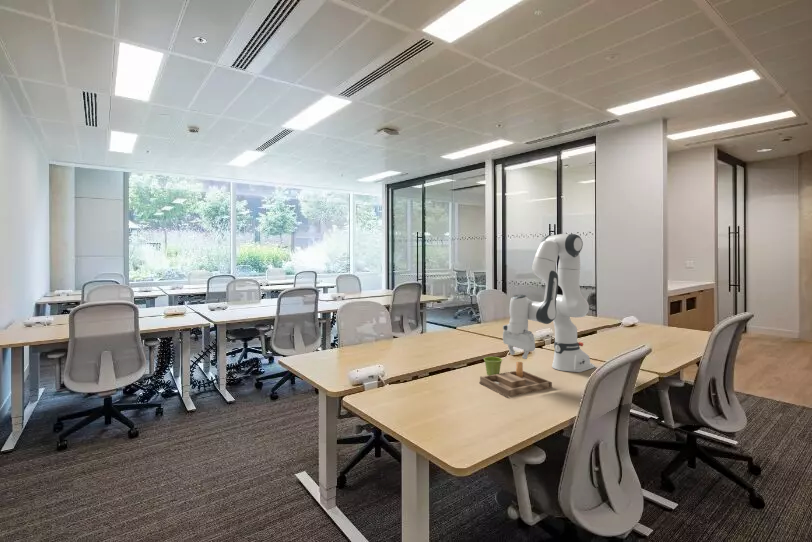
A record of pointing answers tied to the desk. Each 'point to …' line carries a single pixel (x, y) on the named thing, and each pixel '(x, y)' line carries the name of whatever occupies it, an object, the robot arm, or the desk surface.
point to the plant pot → (492, 365)
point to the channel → (514, 383)
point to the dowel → (519, 369)
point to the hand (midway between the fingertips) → (518, 356)
